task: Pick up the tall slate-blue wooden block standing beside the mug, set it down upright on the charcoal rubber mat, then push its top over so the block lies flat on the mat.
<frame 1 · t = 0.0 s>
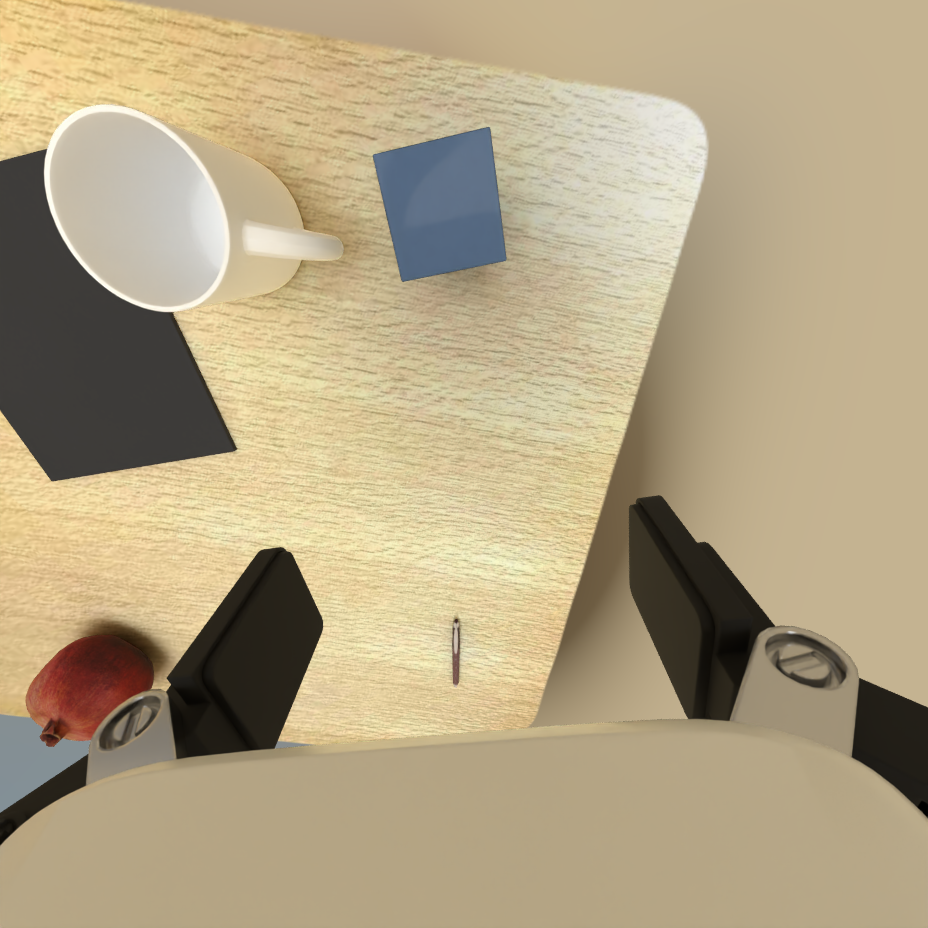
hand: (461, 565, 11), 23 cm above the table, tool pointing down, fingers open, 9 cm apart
mug: (276, 234, 29), on the table
mat: (69, 340, 32), on the table
block: (456, 227, 28), on the table
pen: (456, 651, 47), on the table
fruit: (128, 647, 49), on the table
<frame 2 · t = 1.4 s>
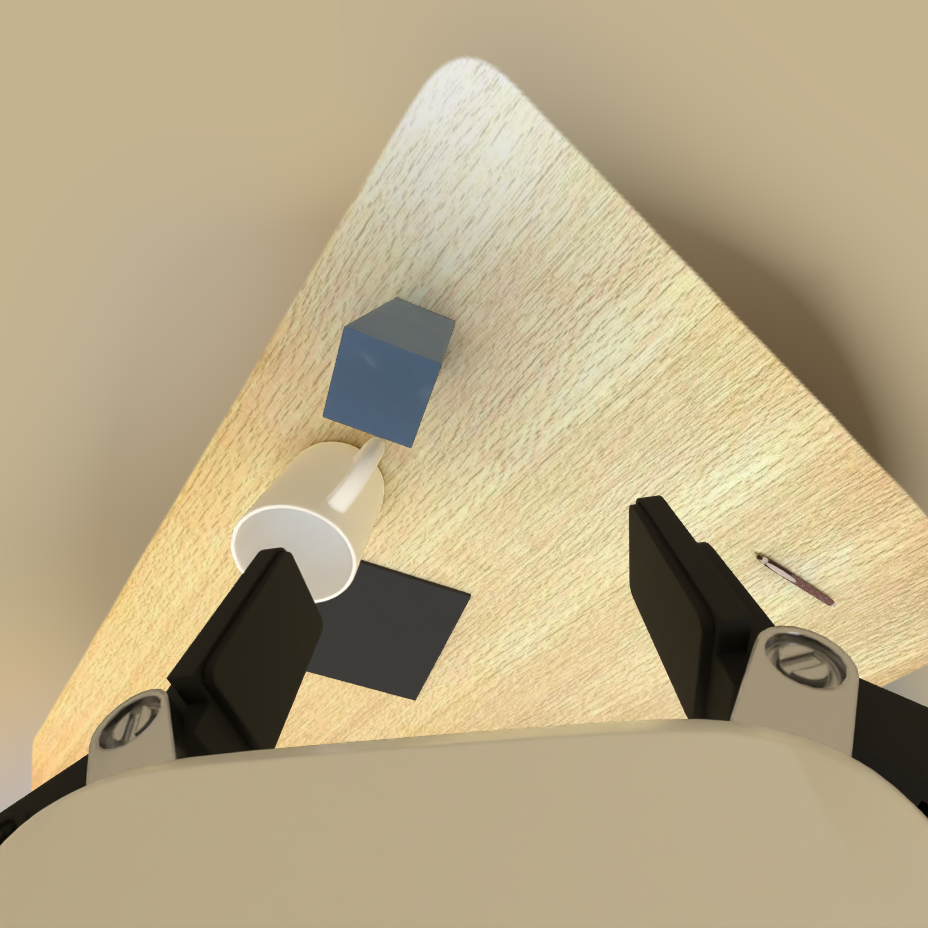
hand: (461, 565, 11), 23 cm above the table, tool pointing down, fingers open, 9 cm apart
mug: (352, 466, 36), on the table
mat: (344, 622, 45), on the table
block: (416, 339, 31), on the table
pen: (794, 577, 40), on the table
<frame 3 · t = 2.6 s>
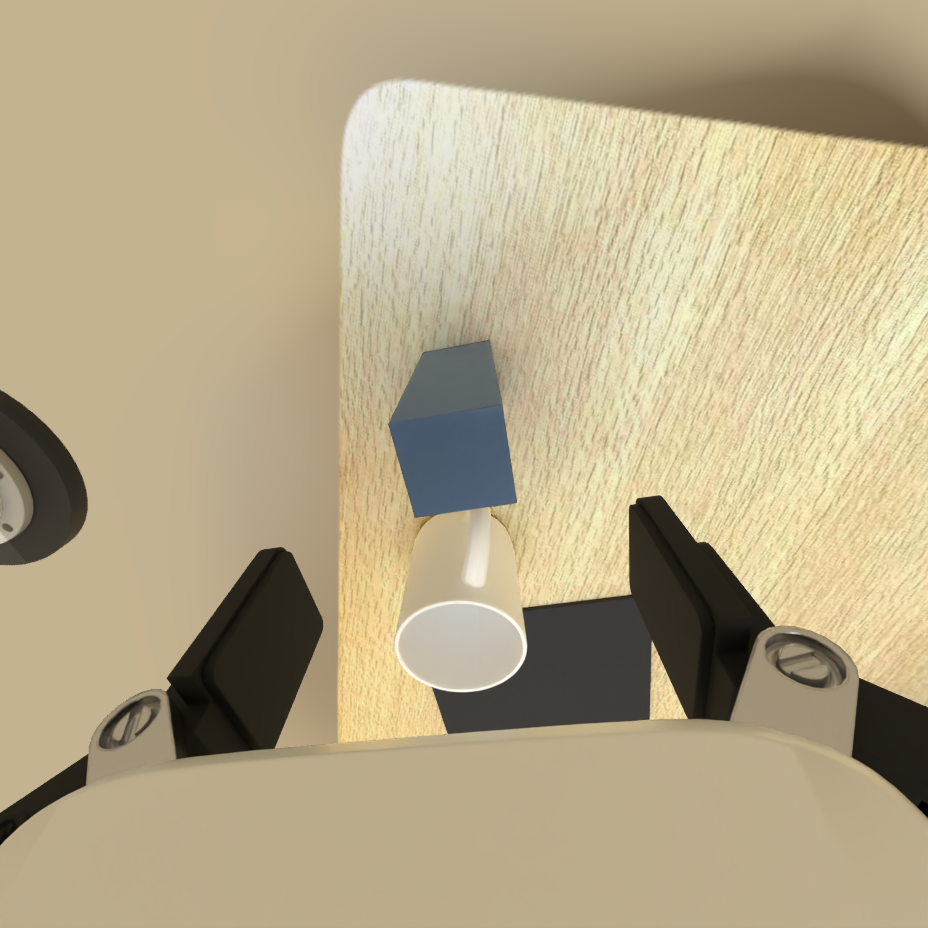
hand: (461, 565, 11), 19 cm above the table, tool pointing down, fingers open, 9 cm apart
mug: (467, 526, 34), on the table
mat: (538, 672, 42), on the table
block: (462, 379, 29), on the table
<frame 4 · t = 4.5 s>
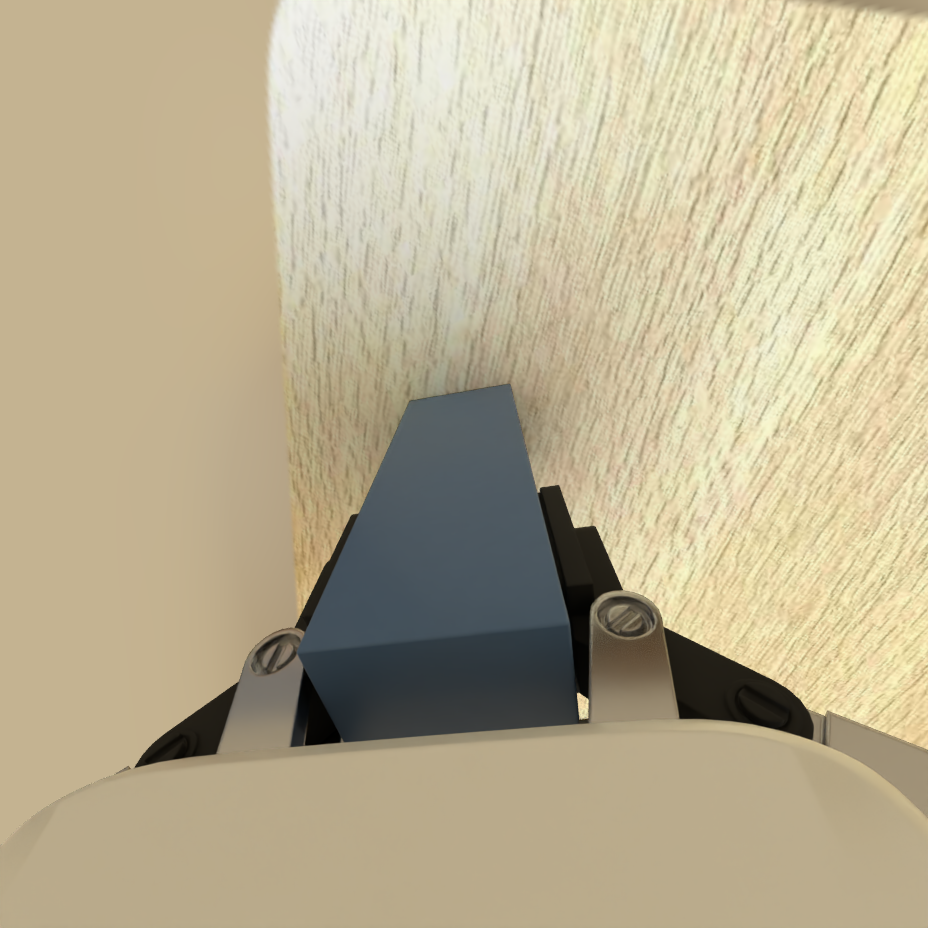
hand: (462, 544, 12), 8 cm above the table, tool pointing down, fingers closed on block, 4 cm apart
block: (468, 438, 19), on the table, touching gripper
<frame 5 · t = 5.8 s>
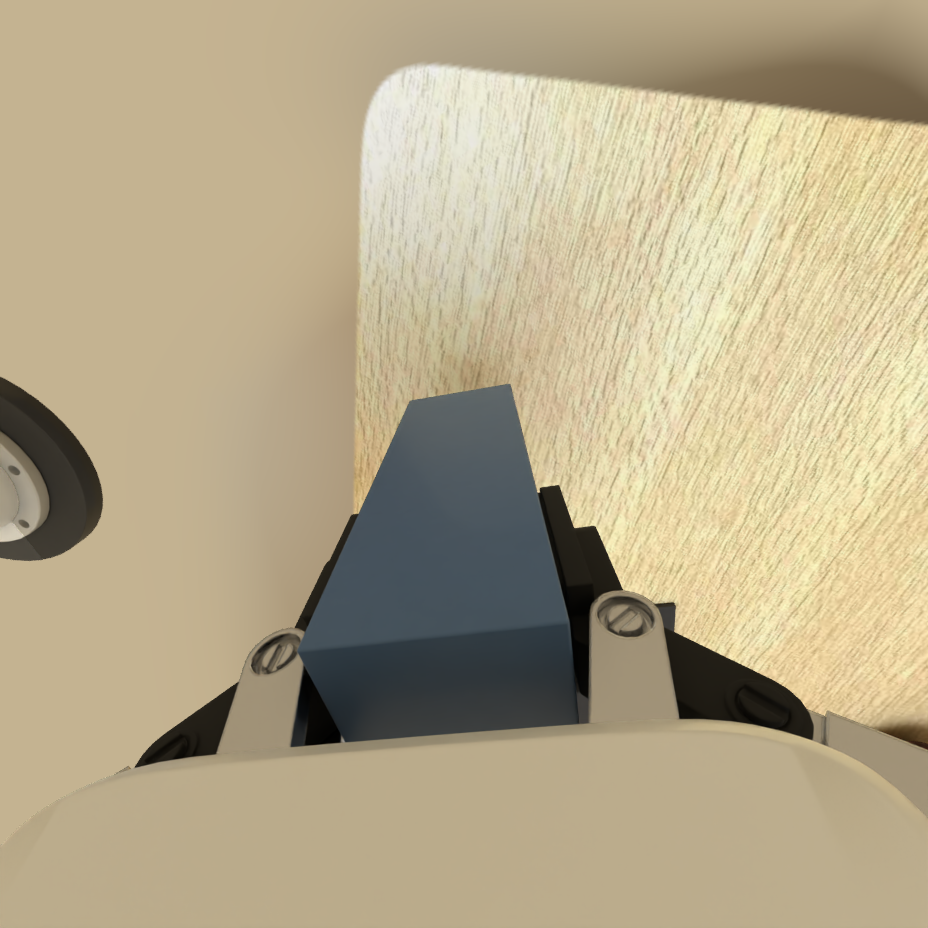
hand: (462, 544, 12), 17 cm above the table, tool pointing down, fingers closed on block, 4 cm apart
mat: (553, 680, 41), on the table
block: (468, 438, 19), point 9 cm above the table, touching gripper
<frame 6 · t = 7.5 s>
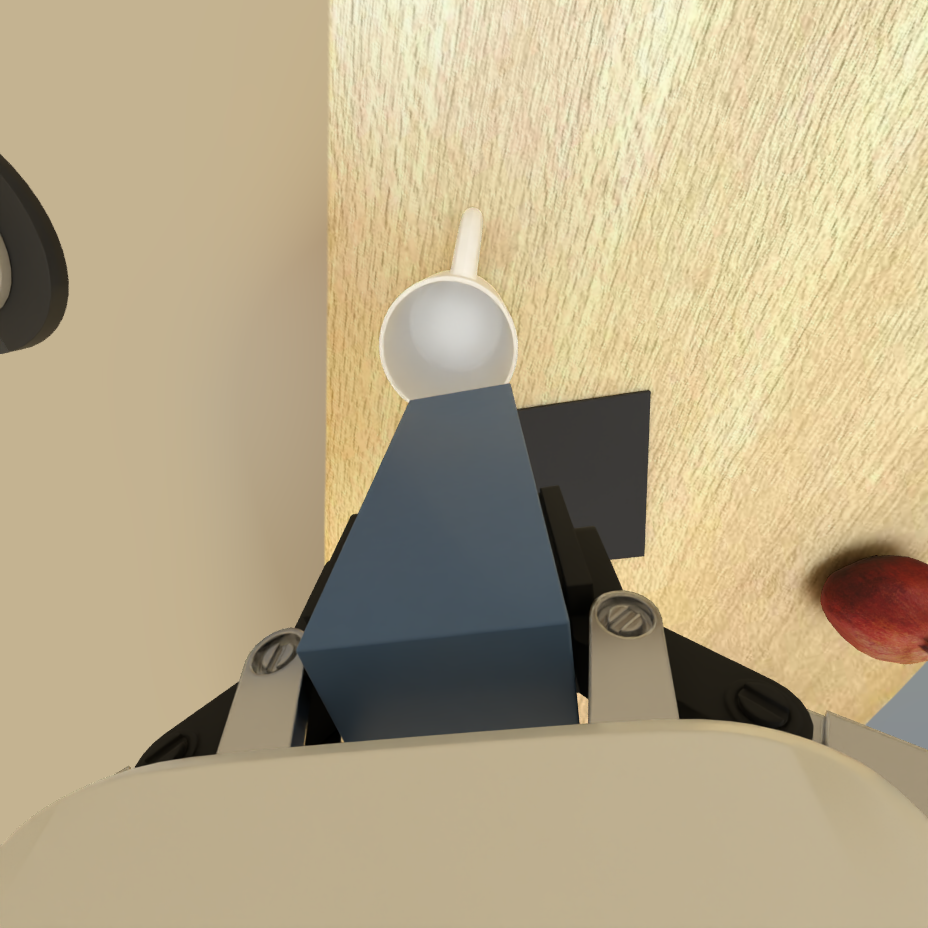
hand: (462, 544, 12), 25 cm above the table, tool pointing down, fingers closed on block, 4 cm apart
mug: (460, 300, 33), on the table
mat: (530, 494, 41), on the table
block: (468, 438, 19), point 18 cm above the table, touching gripper
fruit: (852, 573, 44), on the table
when the fingers open (8 cm above the table, at t = 12.8 s): block stays where it is, resting on mat.
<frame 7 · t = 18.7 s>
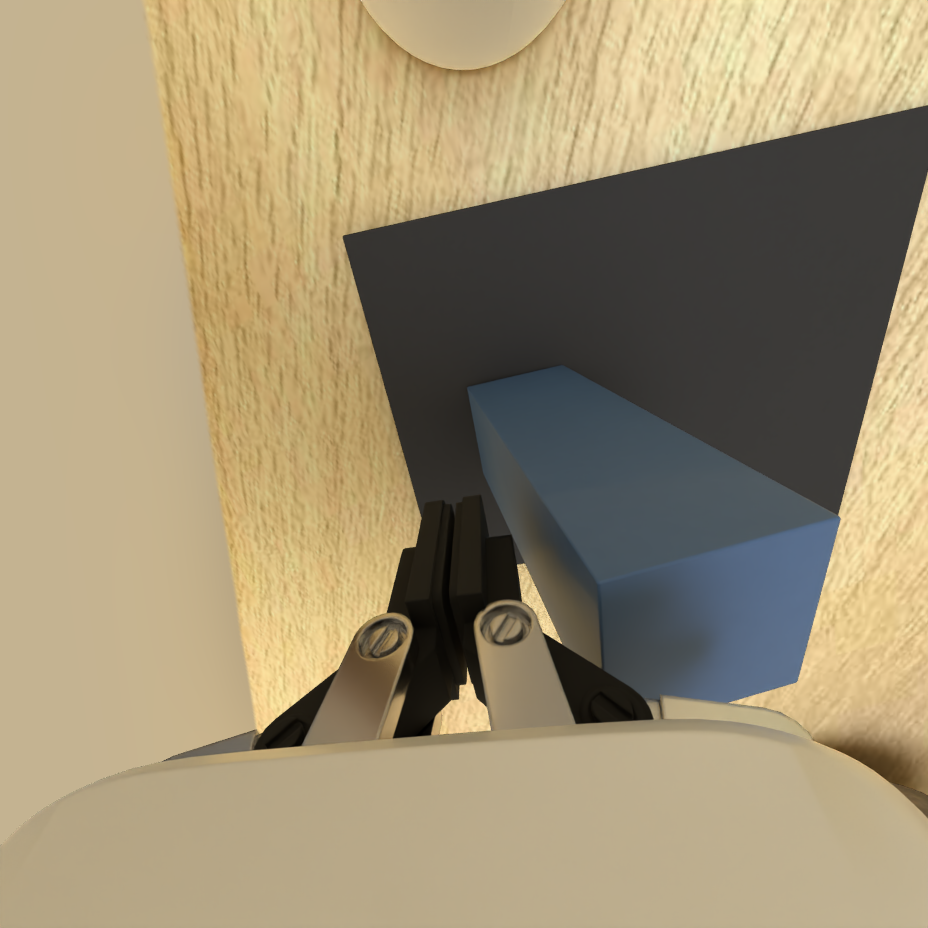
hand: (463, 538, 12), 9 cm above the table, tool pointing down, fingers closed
mat: (622, 397, 20), on the table
block: (521, 421, 20), point 1 cm above the table, tilted 11°, touching mat
bowl: (809, 790, 35), on the table
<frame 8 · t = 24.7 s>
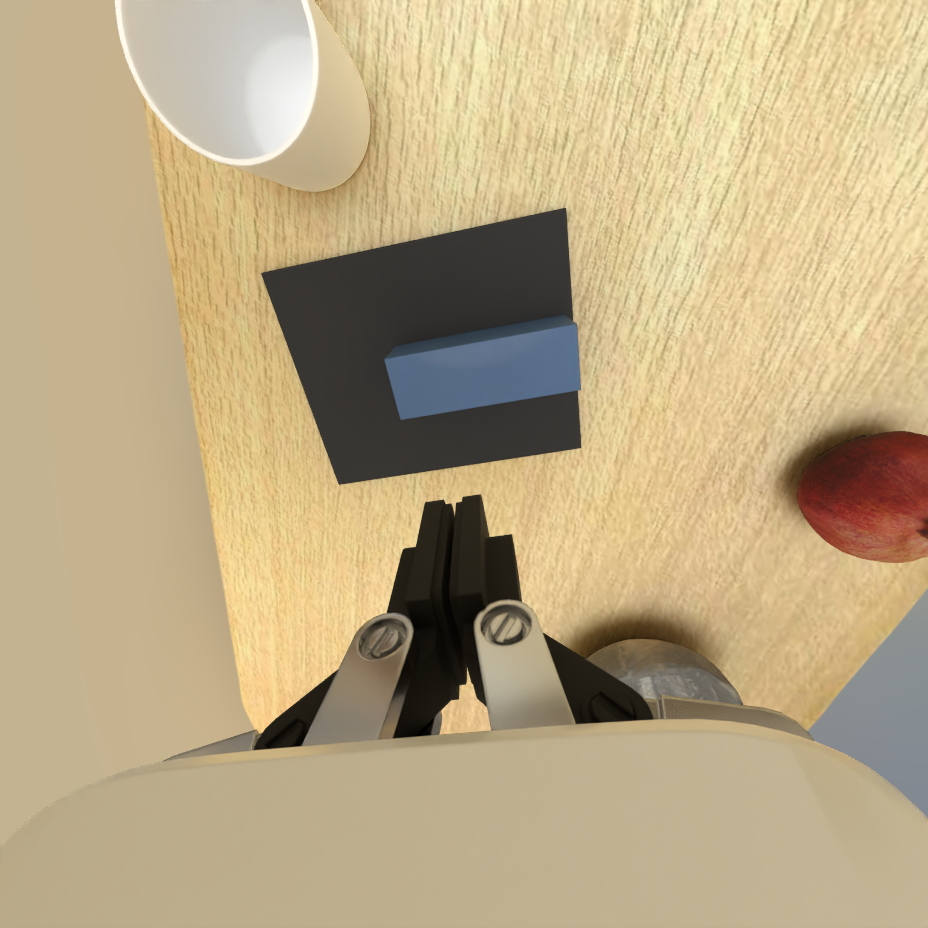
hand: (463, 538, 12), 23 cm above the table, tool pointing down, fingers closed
mug: (310, 80, 26), on the table
mat: (435, 366, 33), on the table
block: (397, 381, 31), point 3 cm above the table, tilted 90°, touching mat
fruit: (836, 467, 37), on the table
bowl: (628, 661, 49), on the table
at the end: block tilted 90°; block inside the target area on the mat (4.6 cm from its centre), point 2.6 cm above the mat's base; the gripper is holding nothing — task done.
